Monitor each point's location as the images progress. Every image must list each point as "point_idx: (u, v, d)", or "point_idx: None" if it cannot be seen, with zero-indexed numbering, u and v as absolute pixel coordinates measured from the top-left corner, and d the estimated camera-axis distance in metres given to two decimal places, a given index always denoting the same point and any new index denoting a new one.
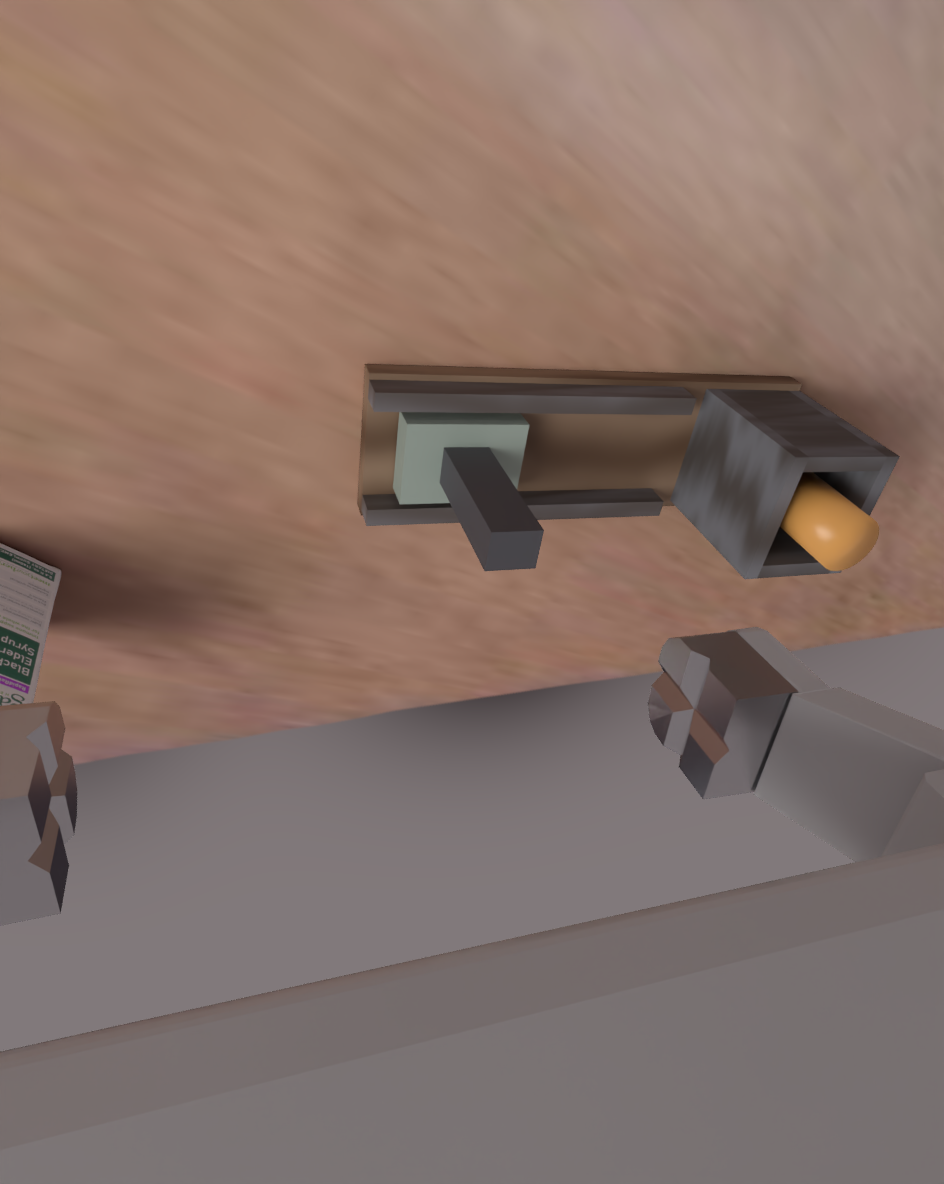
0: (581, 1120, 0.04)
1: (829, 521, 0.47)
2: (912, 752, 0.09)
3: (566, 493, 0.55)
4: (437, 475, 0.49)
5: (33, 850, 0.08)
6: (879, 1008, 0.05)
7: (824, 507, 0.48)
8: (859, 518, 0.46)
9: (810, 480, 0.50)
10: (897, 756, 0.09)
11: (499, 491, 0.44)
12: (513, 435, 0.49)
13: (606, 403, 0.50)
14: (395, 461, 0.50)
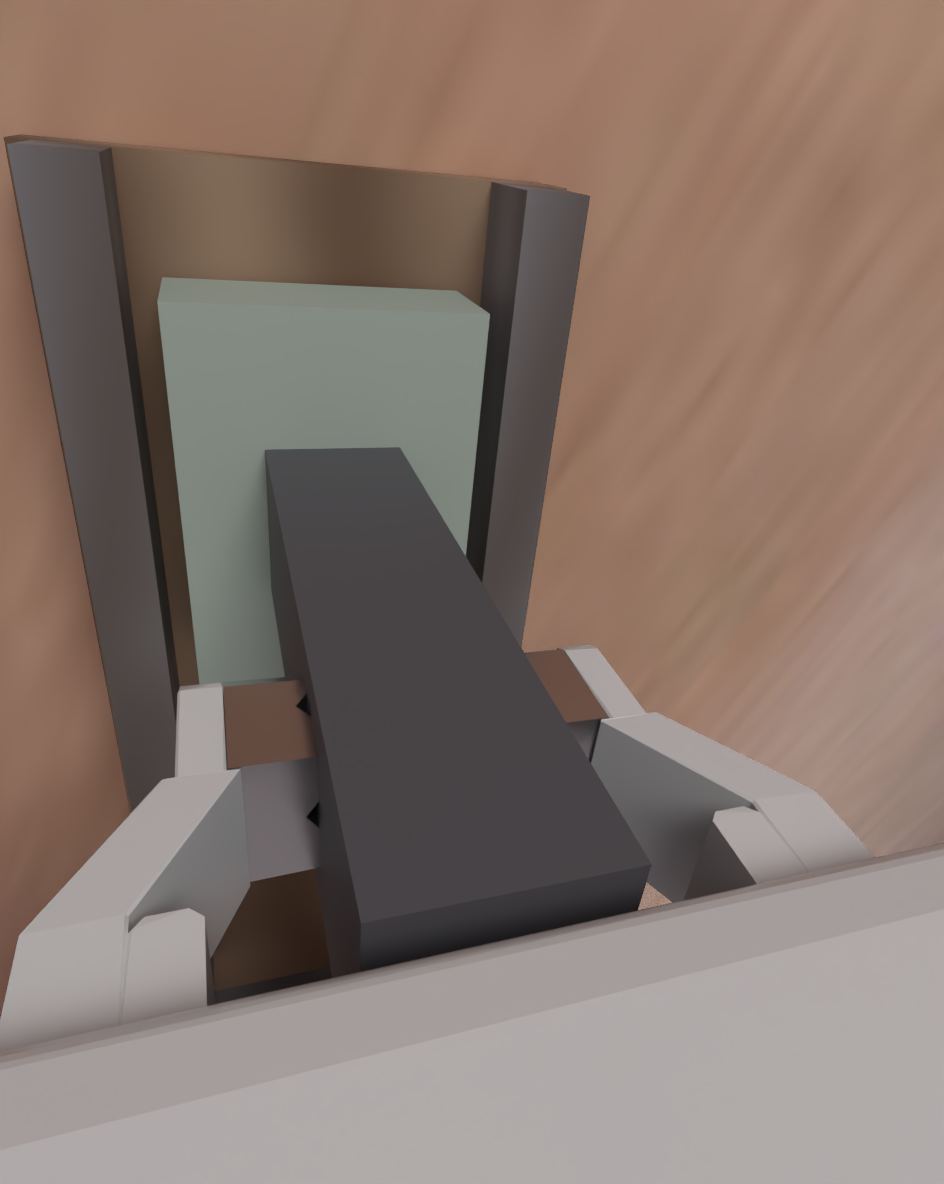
0: (581, 1122, 0.04)
1: None
2: (714, 786, 0.08)
3: None
4: (293, 439, 0.14)
5: (311, 807, 0.09)
6: (879, 1008, 0.05)
7: None
8: None
9: None
10: (700, 790, 0.08)
11: None
12: None
13: None
14: (275, 283, 0.14)
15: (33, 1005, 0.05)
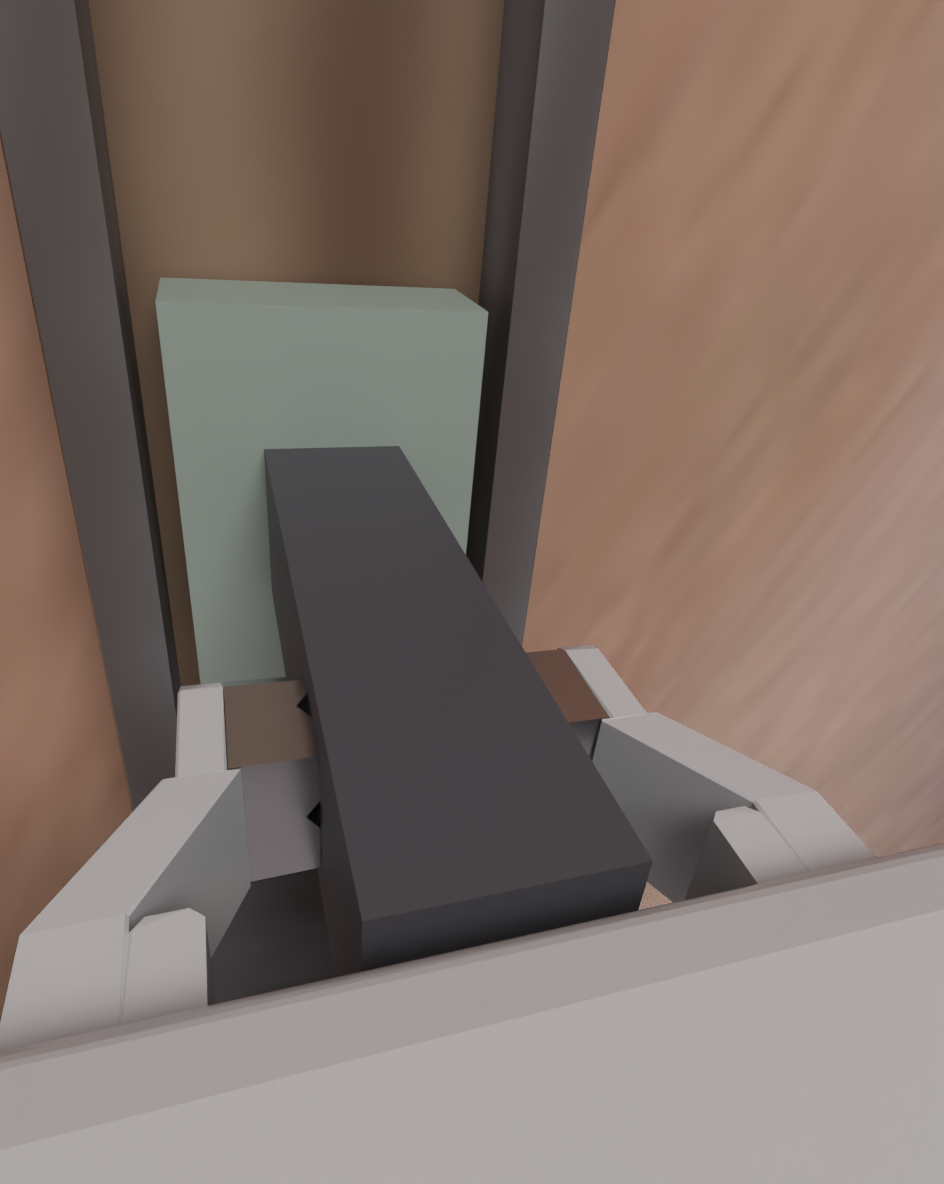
0: (581, 1122, 0.04)
1: None
2: (714, 786, 0.08)
3: (165, 588, 0.17)
4: (292, 438, 0.14)
5: (312, 807, 0.09)
6: (879, 1008, 0.05)
7: None
8: None
9: None
10: (700, 790, 0.08)
11: None
12: None
13: (508, 615, 0.18)
14: (273, 282, 0.14)
15: (33, 1004, 0.05)
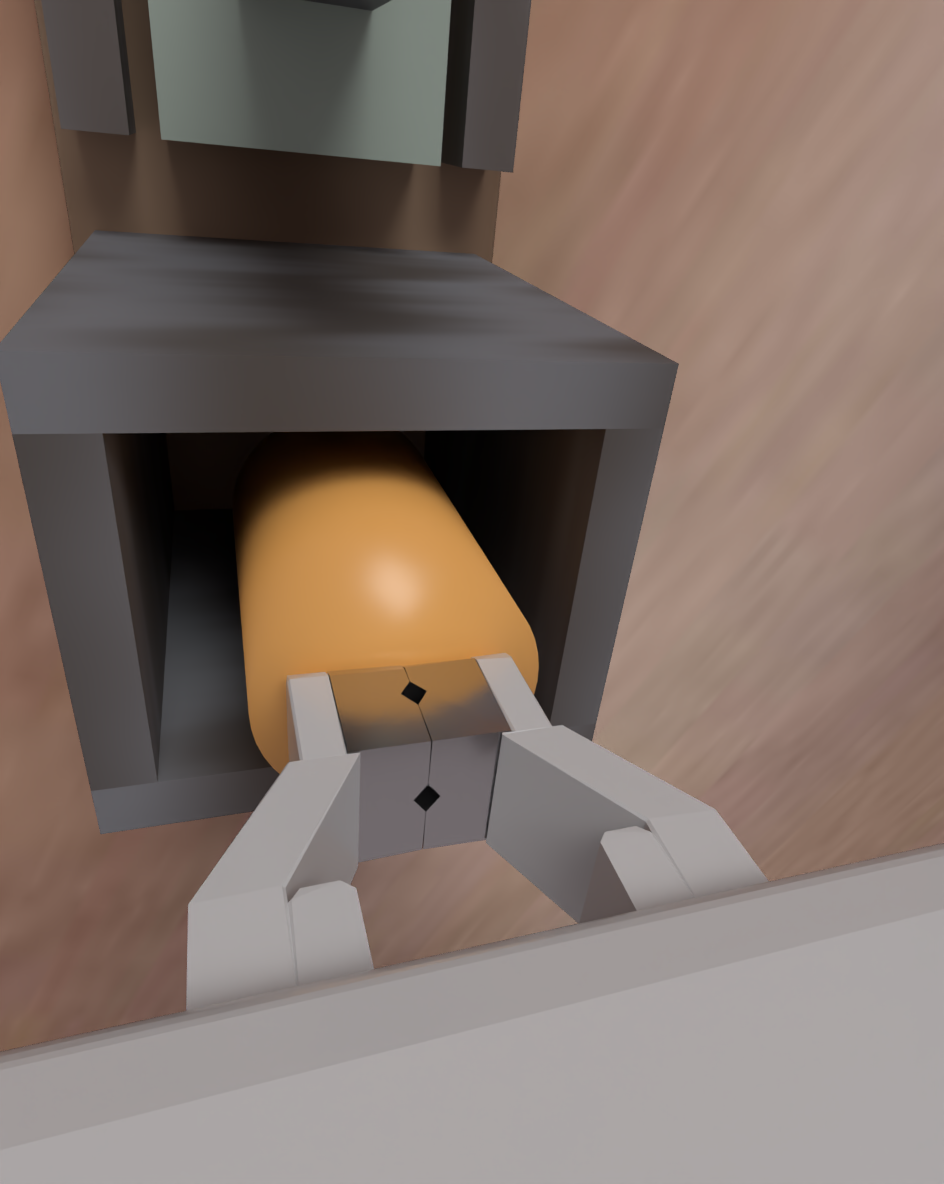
0: (581, 1120, 0.04)
1: (481, 561, 0.11)
2: (610, 804, 0.08)
3: None
4: None
5: (419, 790, 0.09)
6: (879, 1008, 0.05)
7: (477, 544, 0.12)
8: (532, 666, 0.11)
9: None
10: (596, 808, 0.08)
11: None
12: (407, 111, 0.16)
13: None
14: None
15: (214, 967, 0.06)
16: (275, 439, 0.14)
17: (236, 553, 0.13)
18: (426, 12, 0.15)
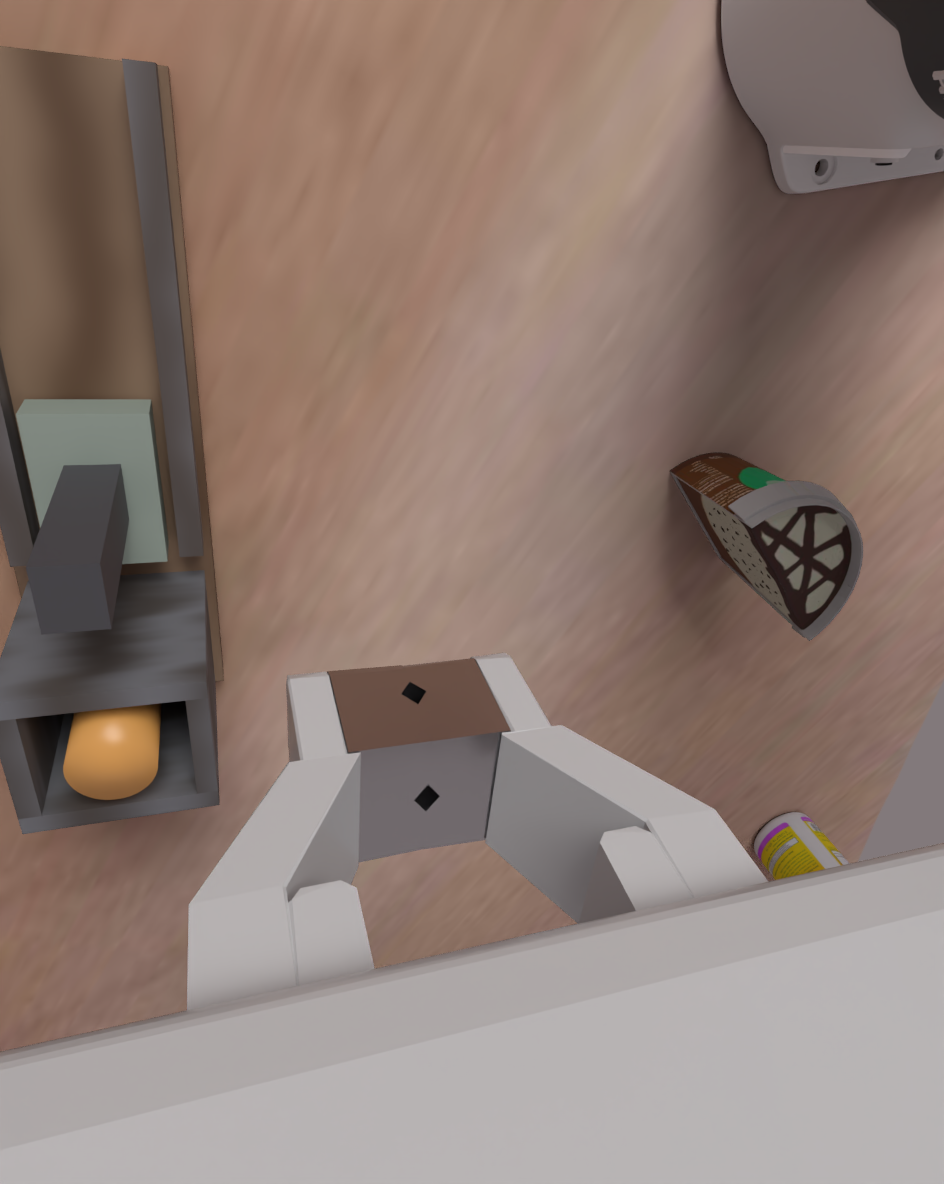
0: (581, 1122, 0.04)
1: (137, 727, 0.36)
2: (610, 804, 0.08)
3: (12, 417, 0.36)
4: (74, 461, 0.36)
5: (419, 791, 0.09)
6: (879, 1008, 0.05)
7: (146, 716, 0.37)
8: (154, 758, 0.36)
9: None
10: (596, 808, 0.08)
11: (116, 553, 0.33)
12: (149, 546, 0.40)
13: (182, 436, 0.38)
14: (70, 399, 0.37)
15: (214, 967, 0.06)
16: None
17: None
18: (151, 517, 0.39)
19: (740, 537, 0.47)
